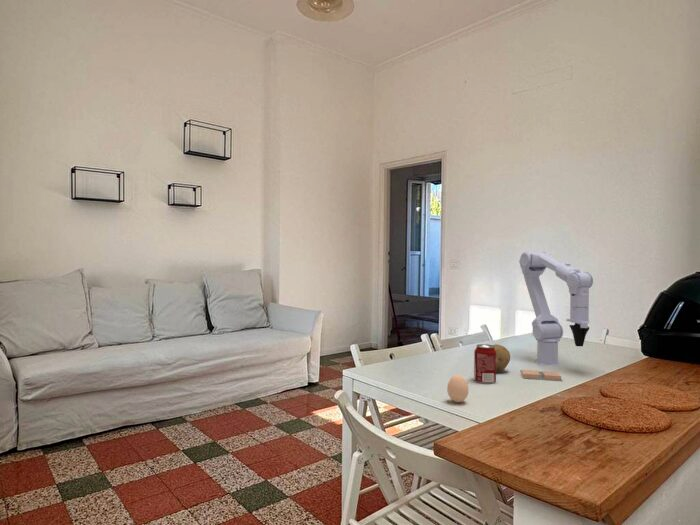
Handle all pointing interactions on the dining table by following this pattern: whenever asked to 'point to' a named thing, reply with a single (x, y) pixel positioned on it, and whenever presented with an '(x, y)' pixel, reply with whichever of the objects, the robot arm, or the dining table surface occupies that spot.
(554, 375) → the tile
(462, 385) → the egg
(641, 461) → the dining table surface
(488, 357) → the soda can
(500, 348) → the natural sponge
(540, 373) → the mat
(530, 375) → the tile
